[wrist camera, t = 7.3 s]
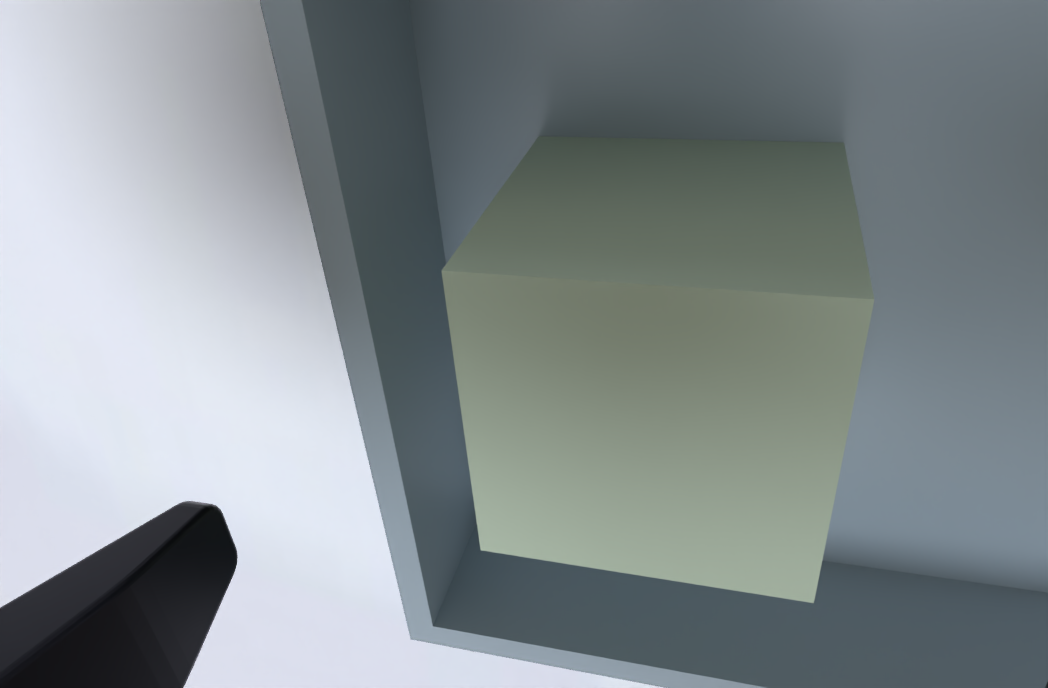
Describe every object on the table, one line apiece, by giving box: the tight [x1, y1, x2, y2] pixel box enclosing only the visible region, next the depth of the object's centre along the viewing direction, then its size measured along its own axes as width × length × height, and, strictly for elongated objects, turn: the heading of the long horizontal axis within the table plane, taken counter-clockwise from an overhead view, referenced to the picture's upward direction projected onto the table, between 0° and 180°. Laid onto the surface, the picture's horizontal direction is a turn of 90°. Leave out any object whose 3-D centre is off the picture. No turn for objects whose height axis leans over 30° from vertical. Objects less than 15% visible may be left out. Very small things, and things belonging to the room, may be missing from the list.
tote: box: [260, 0, 1048, 688], centre depth 12 cm, size 19×15×4 cm
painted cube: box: [442, 136, 874, 603], centre depth 13 cm, size 5×5×5 cm
